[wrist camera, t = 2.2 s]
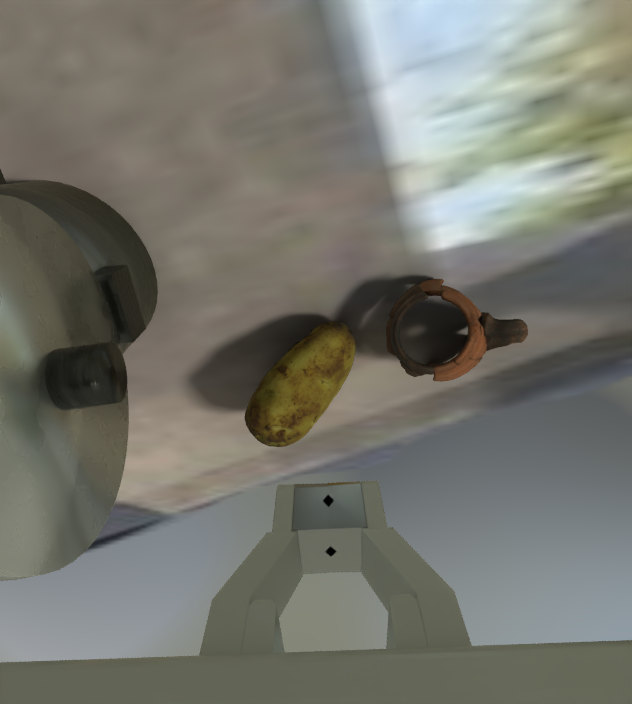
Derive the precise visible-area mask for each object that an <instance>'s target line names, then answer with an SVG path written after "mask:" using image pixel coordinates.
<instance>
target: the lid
mask: <svg viewBox="0 0 632 704" xmlns="http://www.w3.org/2000/svg"><path fill="white" fill-rule="evenodd" d="M120 340H121V337H120V335H119V332H118V329H117V326H116V323H115V320H114V317H113V314H112V311H111V308H110V305H109V302H108V299H107V296H106V293H105V290H104V287H103V285H100V284H99V282H98V280H97V278H96V276H95V274H94V272H93V270H92V268H91V266H90V265H89V263H88V261H87V260H86V258H85V256H84V255H83V254H82V252H81V251H80V249H79V248H78V246H77V245H76V244H75V242H74V241H73V240H72V239H71V237H70V236H69V235H68V234H67V233H66V231H65V230H64V229H63V228H62V227H61V226H60V225H59V224H58V223H57V222H56V221H55V220H53V219H52V218H51V217H50V216H48V215H47V214H46V213H45V212H43V211H42V210H40V209H39V208H37V207H35V206H34V205H32V204H30V203H29V202H26V201H23V200H21V199H18V198H16V197H12V196H7V195H1V194H0V581H3V580H17V579H22V578H27V577H33V576H38V575H43V574H46V573H50V572H53V571H56V570H60V569H61V568H63V567H65V566H66V565H68V564H70V563H72V562H73V561H75V560H76V559H77V558H78V557H79V556H80V555H82V554H83V553H84V552H85V551H86V550H87V549H88V547H89V546H90V545H91V544H92V543H93V542H94V540H95V539H96V537H97V536H98V534H99V533H100V531H101V530H102V528H103V526H104V524H105V522H106V521H107V519H108V517H109V515H110V512H111V510H112V507H113V505H114V502H115V500H116V497H117V493H118V490H119V487H120V483H121V479H122V475H123V470H124V465H125V459H126V452H127V442H128V425H129V406H128V390H127V372H126V366H125V362H124V358H123V354H122V350H121V345H120Z"/></svg>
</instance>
